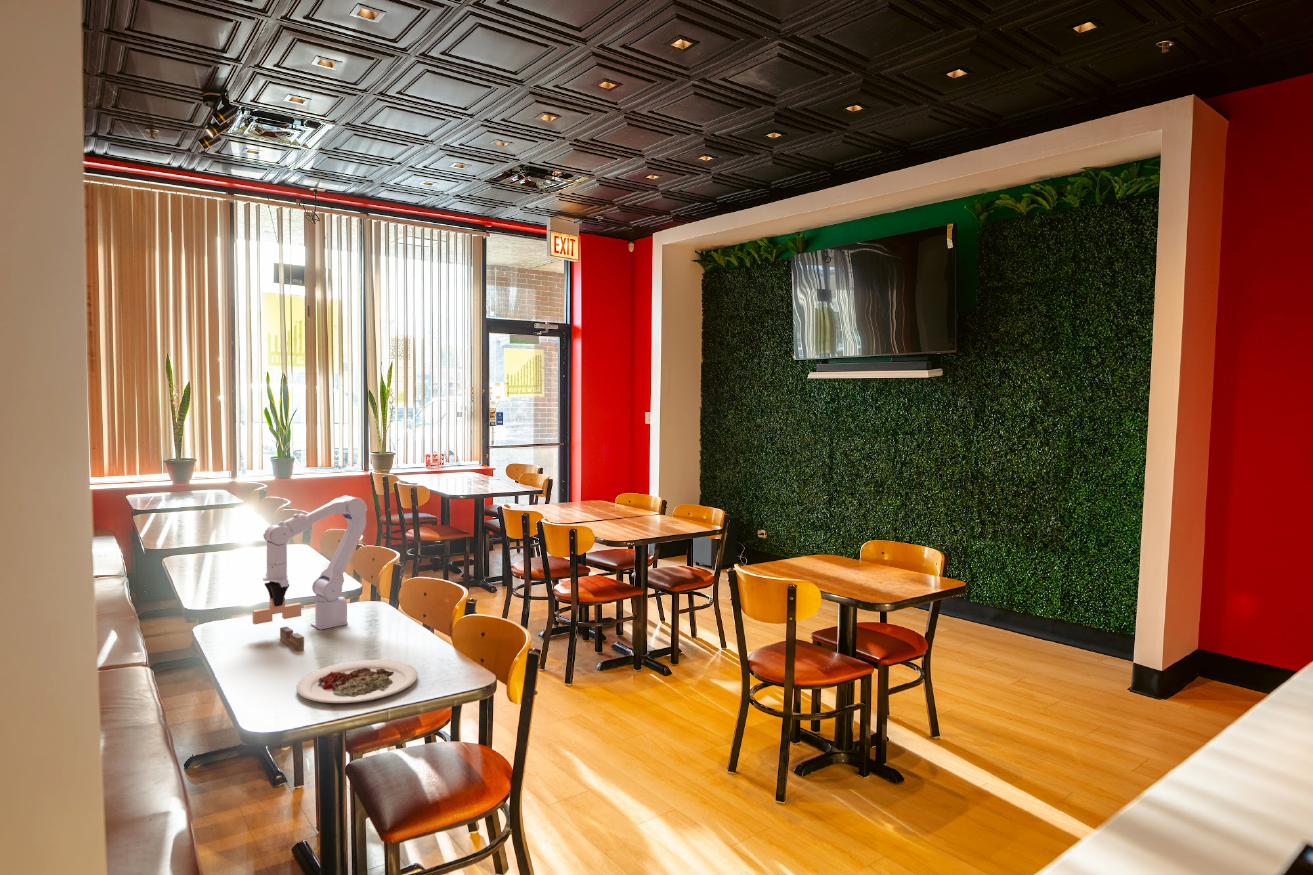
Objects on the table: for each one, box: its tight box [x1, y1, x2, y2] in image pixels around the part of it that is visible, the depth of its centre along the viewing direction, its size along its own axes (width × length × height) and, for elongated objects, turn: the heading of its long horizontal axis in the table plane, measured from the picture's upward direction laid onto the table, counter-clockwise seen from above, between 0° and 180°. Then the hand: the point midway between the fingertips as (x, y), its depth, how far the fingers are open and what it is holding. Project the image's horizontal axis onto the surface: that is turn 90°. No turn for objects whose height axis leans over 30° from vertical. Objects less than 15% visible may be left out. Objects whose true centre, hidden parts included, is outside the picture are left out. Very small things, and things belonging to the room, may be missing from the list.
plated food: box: [296, 659, 418, 704], centre depth 198 cm, size 30×30×3 cm
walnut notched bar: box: [279, 626, 305, 652], centre depth 229 cm, size 2×14×4 cm, turn 46°
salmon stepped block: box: [252, 596, 302, 625], centre depth 237 cm, size 14×2×7 cm, turn 136°
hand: (276, 604), depth 237 cm, fingers closed on salmon stepped block, 2 cm apart
